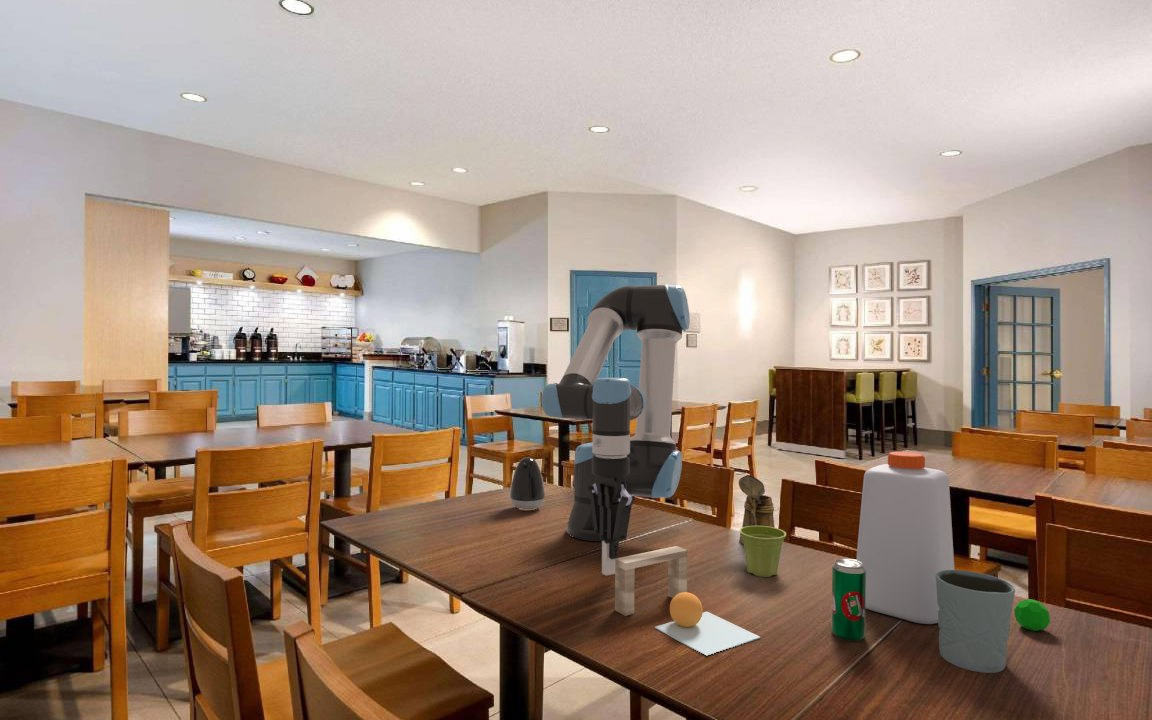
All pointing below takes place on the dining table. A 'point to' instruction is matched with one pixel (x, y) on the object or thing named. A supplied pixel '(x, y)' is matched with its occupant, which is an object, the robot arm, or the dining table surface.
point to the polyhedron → (1032, 615)
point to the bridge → (629, 563)
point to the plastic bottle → (905, 537)
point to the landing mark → (708, 634)
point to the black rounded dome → (527, 485)
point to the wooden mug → (756, 504)
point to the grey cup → (974, 619)
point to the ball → (686, 609)
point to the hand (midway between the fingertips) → (609, 573)
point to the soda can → (848, 599)
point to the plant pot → (762, 549)
